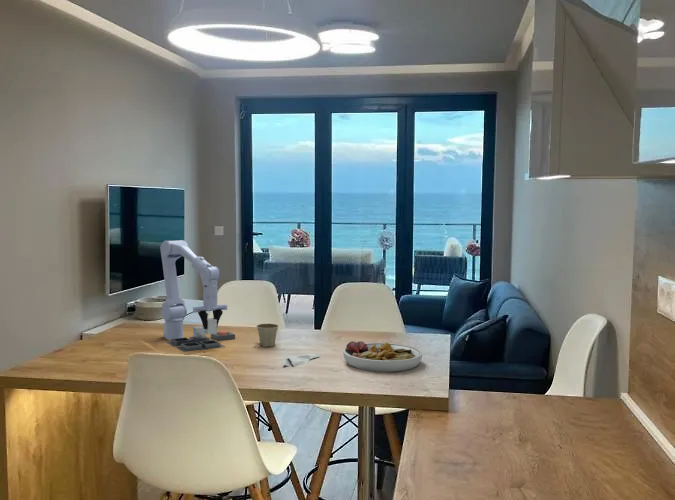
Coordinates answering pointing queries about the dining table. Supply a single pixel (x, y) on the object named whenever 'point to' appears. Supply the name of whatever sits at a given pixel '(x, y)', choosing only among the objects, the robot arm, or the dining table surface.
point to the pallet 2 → (199, 345)
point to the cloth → (298, 359)
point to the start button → (222, 332)
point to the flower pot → (267, 334)
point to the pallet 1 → (185, 341)
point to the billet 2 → (211, 326)
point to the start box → (223, 336)
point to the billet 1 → (198, 332)
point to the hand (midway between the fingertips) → (210, 328)
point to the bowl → (381, 356)
